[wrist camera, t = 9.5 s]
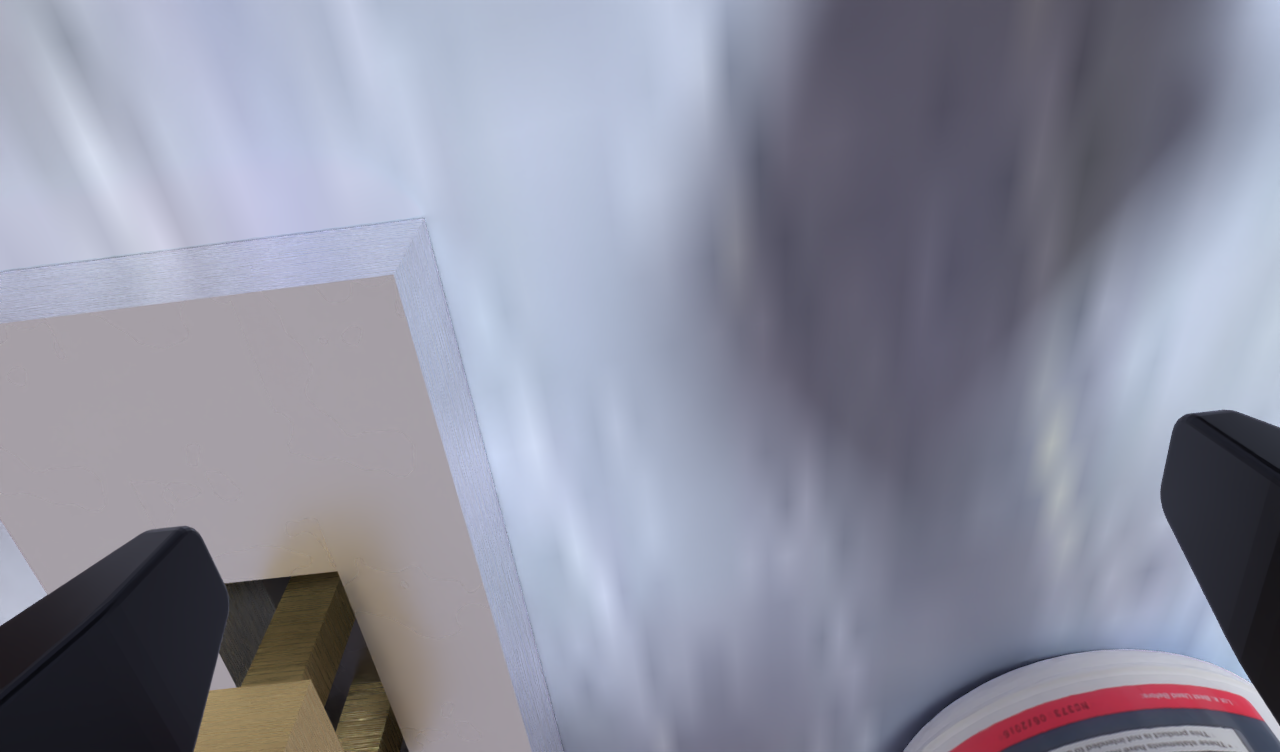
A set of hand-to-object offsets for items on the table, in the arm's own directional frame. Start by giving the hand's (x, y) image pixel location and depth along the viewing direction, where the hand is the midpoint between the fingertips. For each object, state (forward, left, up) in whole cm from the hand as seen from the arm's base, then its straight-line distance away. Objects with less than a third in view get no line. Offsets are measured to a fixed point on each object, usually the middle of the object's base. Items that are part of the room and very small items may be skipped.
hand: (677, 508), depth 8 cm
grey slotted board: (+10, +13, -12) cm, 20 cm away
